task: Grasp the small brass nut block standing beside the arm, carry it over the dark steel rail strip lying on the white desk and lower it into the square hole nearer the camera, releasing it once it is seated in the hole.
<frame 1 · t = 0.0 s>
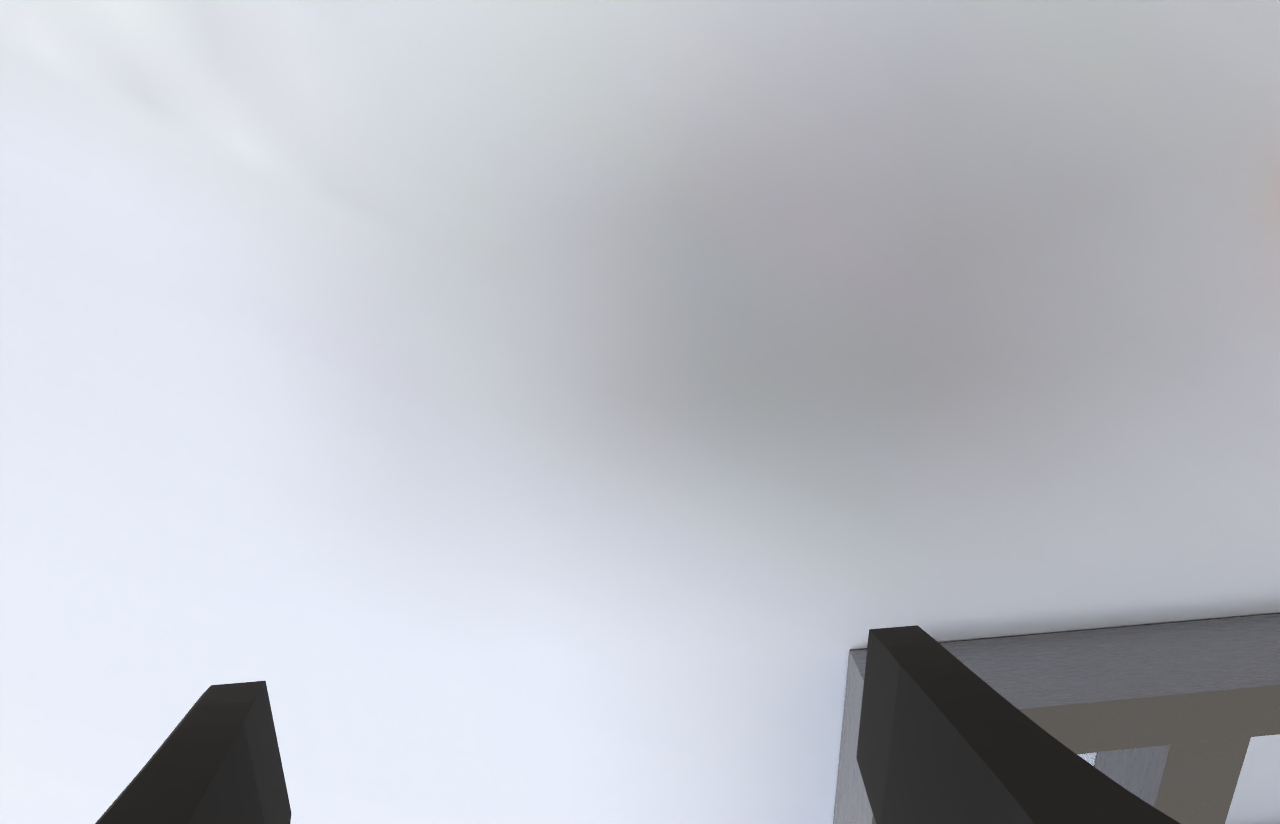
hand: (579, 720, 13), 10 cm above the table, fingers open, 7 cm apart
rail: (1130, 762, 29), on the table
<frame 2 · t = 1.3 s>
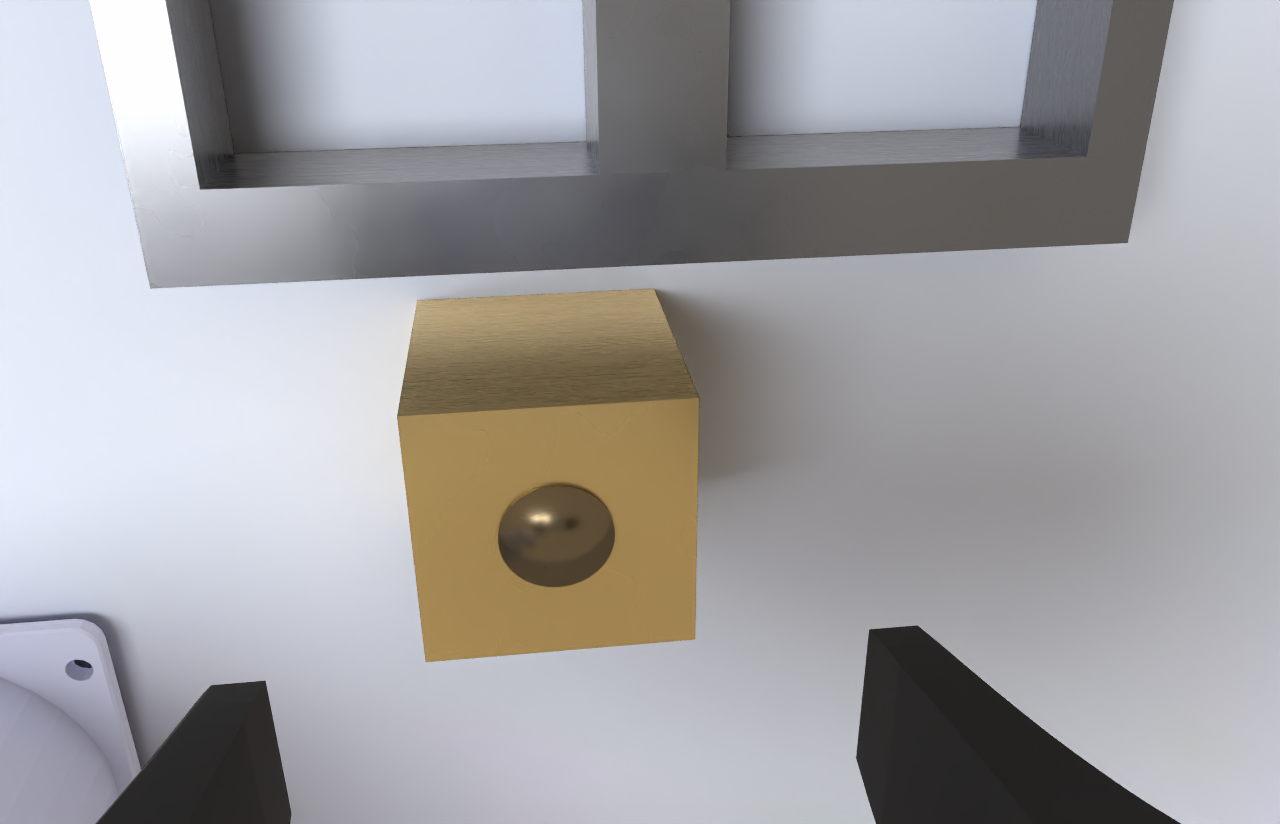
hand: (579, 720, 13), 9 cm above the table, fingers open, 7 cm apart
nut block: (542, 400, 21), on the table
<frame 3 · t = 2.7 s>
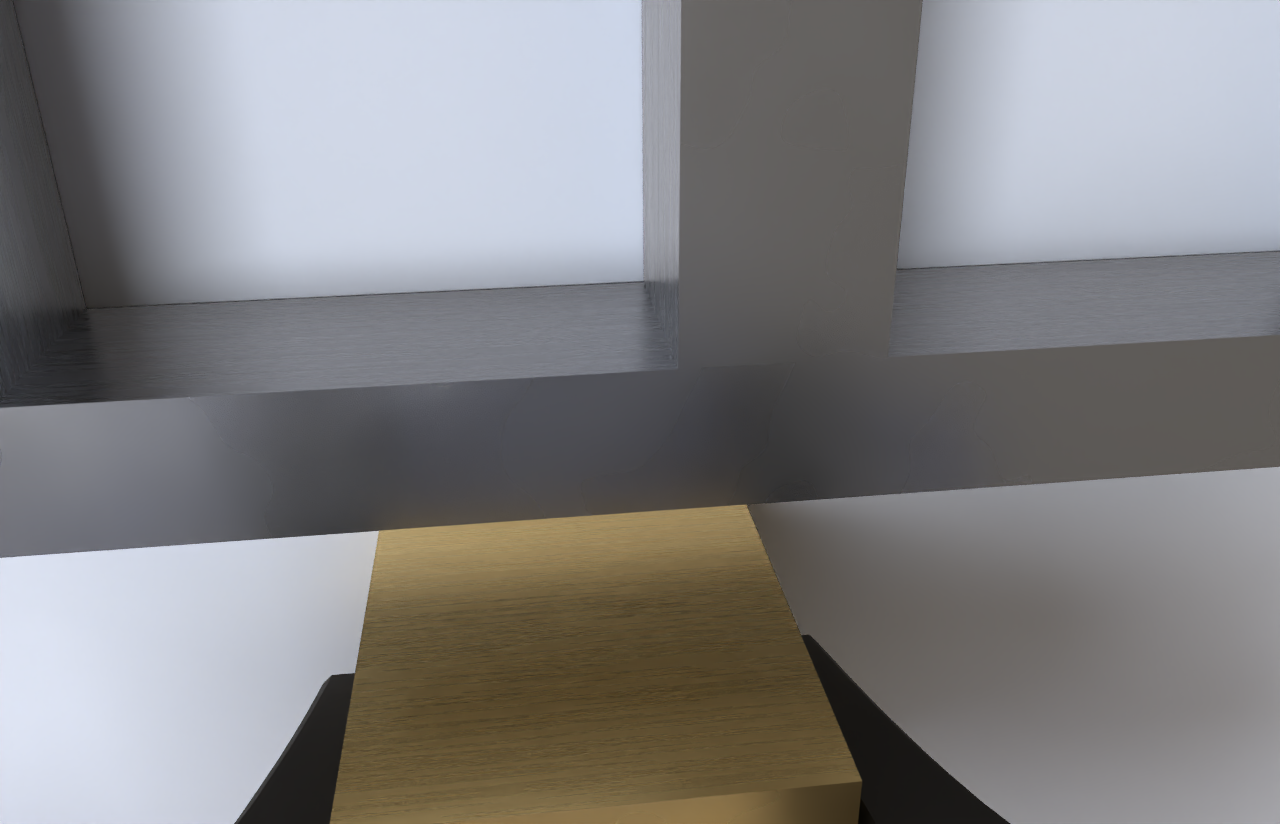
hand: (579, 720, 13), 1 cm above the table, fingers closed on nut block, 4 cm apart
nut block: (570, 646, 14), on the table, touching gripper
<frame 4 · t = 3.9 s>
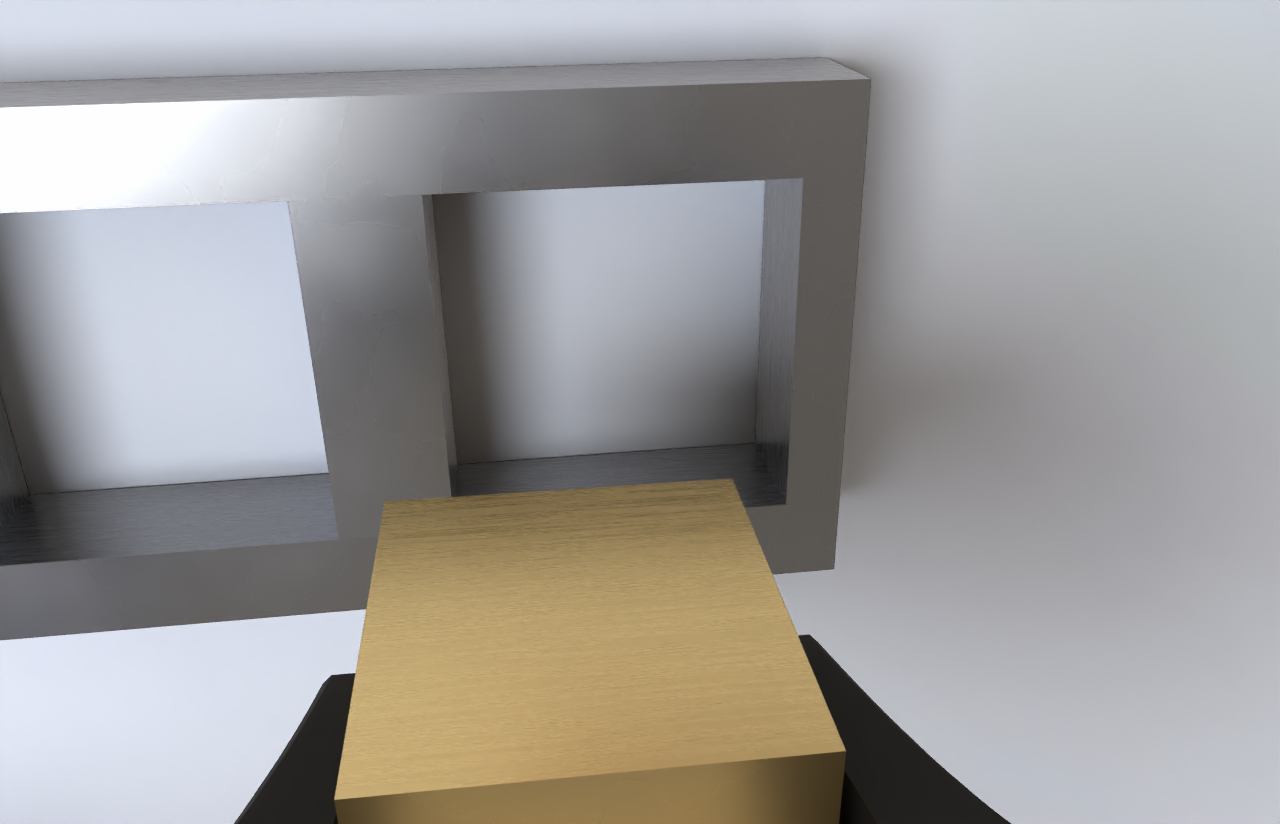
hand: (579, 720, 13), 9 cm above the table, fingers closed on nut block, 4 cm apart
nut block: (567, 631, 15), point 7 cm above the table, touching gripper
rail: (389, 324, 20), on the table
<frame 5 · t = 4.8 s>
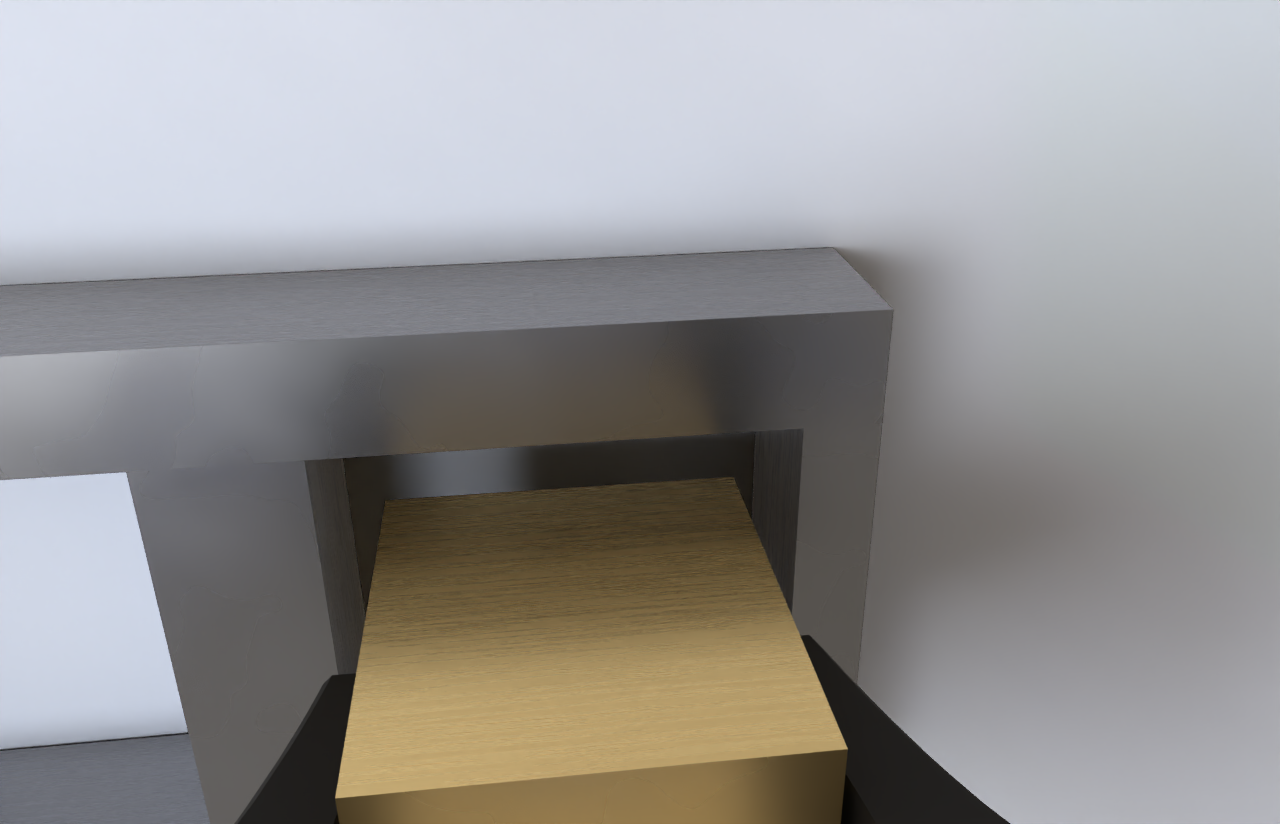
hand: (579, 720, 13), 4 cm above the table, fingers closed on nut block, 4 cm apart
nut block: (568, 630, 15), point 2 cm above the table, touching gripper
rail: (288, 564, 16), on the table
when the fingers open (3 cm above the table, at t = 5.4 s): nut block drops 1 cm, resting in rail.
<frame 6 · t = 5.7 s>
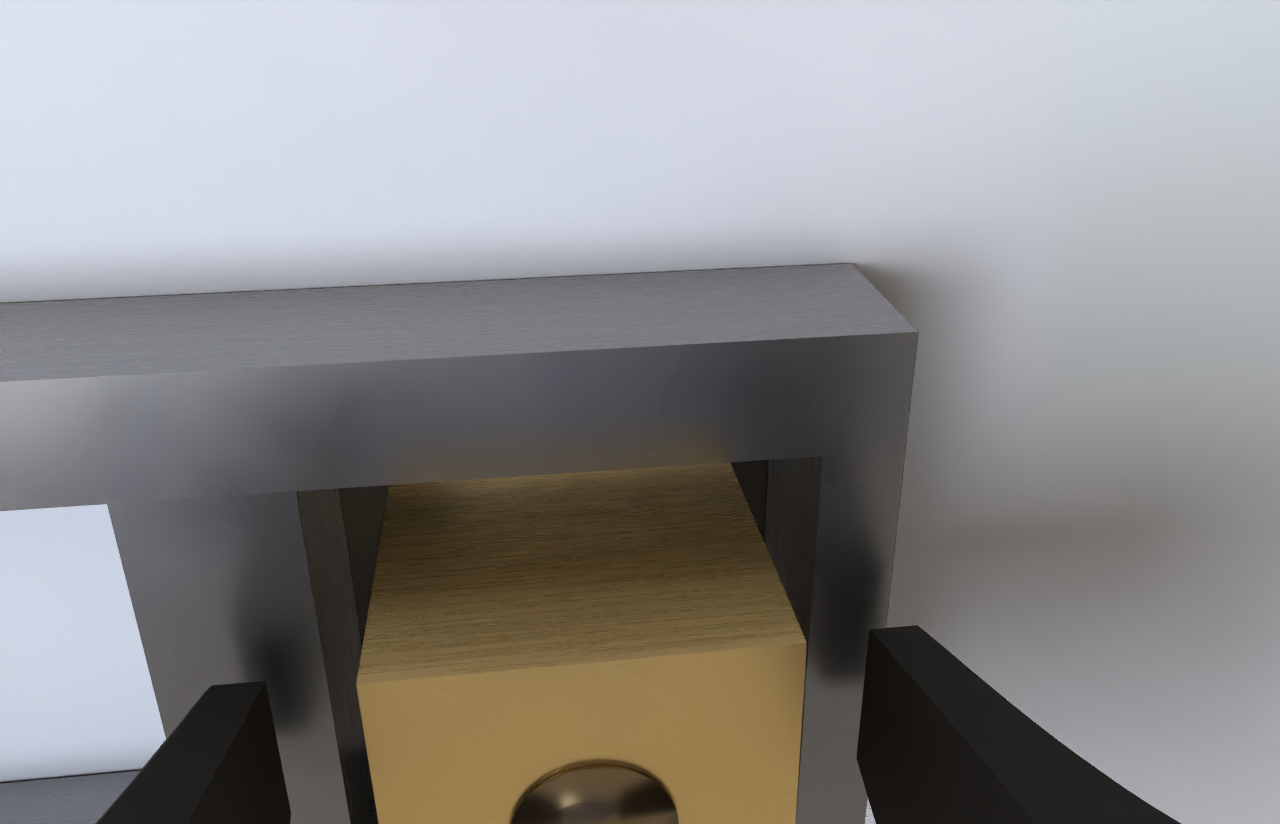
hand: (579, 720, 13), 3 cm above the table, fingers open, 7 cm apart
nut block: (564, 567, 16), resting in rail
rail: (281, 593, 16), on the table
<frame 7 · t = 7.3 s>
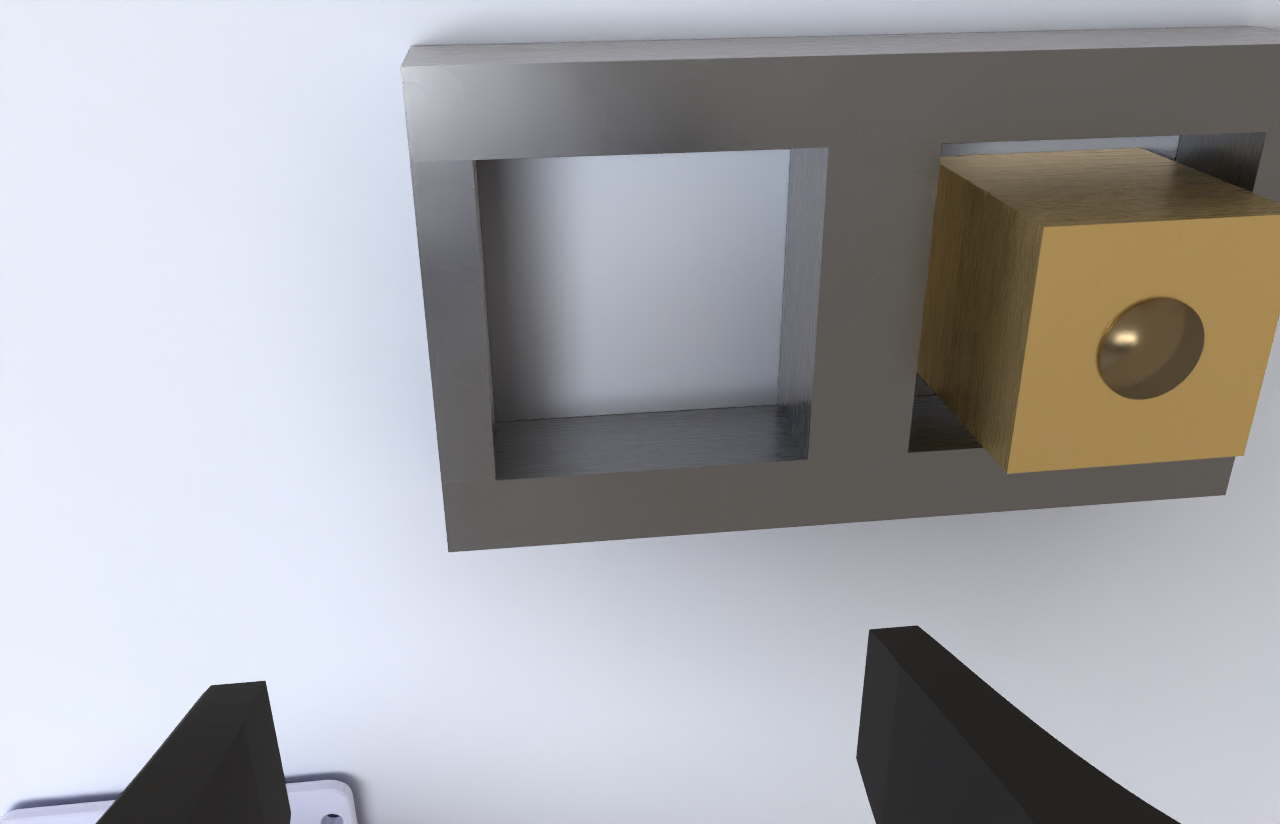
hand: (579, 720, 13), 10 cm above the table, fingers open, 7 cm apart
nut block: (1019, 257, 23), resting in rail
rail: (832, 268, 22), on the table
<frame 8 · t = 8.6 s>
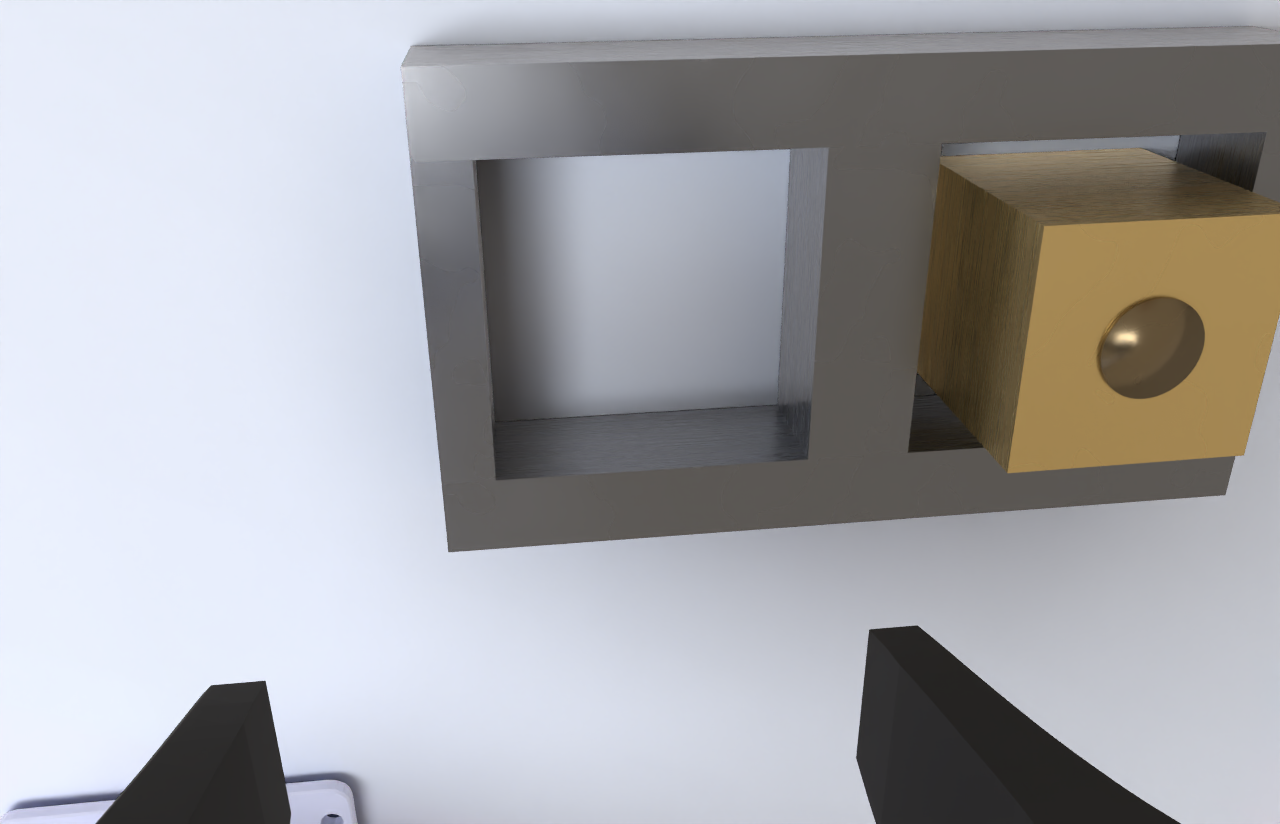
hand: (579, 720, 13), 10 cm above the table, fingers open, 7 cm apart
nut block: (1019, 258, 23), resting in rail
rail: (832, 268, 22), on the table
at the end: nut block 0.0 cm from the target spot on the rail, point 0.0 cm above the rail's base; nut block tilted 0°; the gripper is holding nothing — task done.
